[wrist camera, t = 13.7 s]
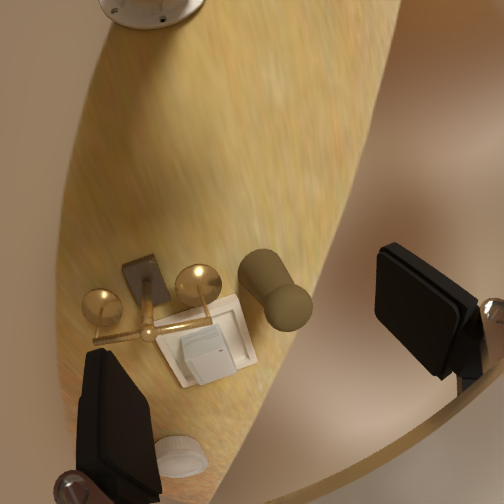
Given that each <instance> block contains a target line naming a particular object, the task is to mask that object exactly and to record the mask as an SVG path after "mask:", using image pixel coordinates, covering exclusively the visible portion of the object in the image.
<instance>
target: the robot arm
mask: <svg viewBox="0 0 504 504" xmlns="http://www.w3.org/2000/svg"><path fill="white" fill-rule="evenodd" d="M98 1H99V4H100V6H101V8H102V10H103V12H104V13H105V14H106V15H107V17H109V18H110V19H111V20H112V21H114V22H115V23H117V24H120V25H122V26H124V27H128V28H132V29H141V30H149V29H159V28H163V27H168V26H170V25H173V24H176V23H178V22H180V21H182V20H184V19H186V18H188V17H189V16H190V15H192V14H193V13H194V12H196V10H197V9H198V8H199V7H200V6H201V5H202V4H203V2H204V1H205V0H98ZM115 12H117V14H114V15H113V13H115ZM161 20H165V22H160V21H161ZM477 303H478V299H476V298H475V297H474V296H472V295H471V294H470V293H468V292H467V291H466V290H464V289H463V288H461V287H460V286H459V285H458V284H456V283H455V282H453V281H452V280H450V279H449V278H448V277H446V276H445V275H444V274H442V273H441V272H439V271H438V270H437V269H435V268H434V267H432V266H431V265H429V264H428V263H426V262H425V261H423V260H422V259H420V258H419V257H417V256H416V255H414V254H413V253H412V252H410V251H408V250H407V249H405V248H404V247H402V246H401V245H399V244H398V243H396V242H394V243H391V244H389V245H386V246H384V247H382V248H381V249H380V251H379V253H378V255H377V270H376V295H375V315H376V317H377V318H378V320H379V321H380V322H381V323H382V324H383V325H384V326H385V327H386V328H387V329H388V330H389V331H390V332H391V333H392V334H393V335H394V336H395V337H396V338H397V339H398V340H399V341H400V342H401V343H402V344H403V345H404V346H405V347H406V348H407V349H408V350H409V352H411V354H412V355H413V356H414V357H415V358H416V359H417V360H418V361H419V362H420V363H421V364H422V365H423V366H424V367H425V368H426V369H427V370H428V371H429V372H430V373H431V374H432V375H433V376H437V377H438V378H439V379H440V380H441V381H442V380H443V379H444V378H446V377H447V376H448V375H450V374H451V373H452V371H453V372H454V373H455V374H456V377H457V397H456V398H455V399H454V400H453V401H451V402H450V403H449V404H447V405H446V406H445V407H444V408H442V409H441V410H440V411H438V412H437V413H436V414H434V415H433V416H432V417H430V418H429V419H427V420H426V421H424V422H423V423H422V424H420V425H419V426H417V427H416V428H414V429H413V430H411V431H410V432H408V433H407V434H405V435H404V436H402V437H401V438H399V439H397V440H396V441H394V442H393V443H391V444H389V445H388V446H386V447H384V448H383V449H381V450H379V451H378V452H376V453H374V454H372V455H371V456H369V457H367V458H365V459H363V460H362V461H360V462H358V463H356V464H354V465H352V466H350V467H349V468H346V469H344V470H342V471H341V472H338V473H336V474H334V475H332V476H330V477H328V478H325V479H323V480H321V481H319V482H317V483H314V484H312V485H310V486H307V487H305V488H303V489H300V490H297V491H295V492H292V493H290V494H287V495H285V496H282V497H279V498H276V499H274V500H271V501H268V502H265V503H262V504H504V300H502V299H500V298H489V299H486V300H485V301H484V302H483V303H482V304H481V306H480V307H479V306H478V305H477ZM159 494H162V485H161V480H160V475H159V469H158V464H157V458H156V452H155V445H154V439H153V432H152V424H151V417H150V408H149V404H148V402H147V400H146V398H145V397H144V395H143V394H142V393H141V391H140V390H139V389H138V388H137V386H136V385H135V384H134V382H133V381H132V380H131V378H130V377H129V375H128V374H127V373H126V371H125V370H124V369H123V367H122V366H121V364H120V363H119V361H118V360H117V359H116V357H115V356H114V354H113V353H112V352H111V351H106V350H105V349H104V348H100V349H96V350H93V351H89V352H87V354H86V359H85V367H84V376H83V385H82V395H81V397H80V398H79V404H78V418H77V438H76V470H69V471H66V472H64V473H63V474H61V475H60V476H59V477H58V479H57V480H56V482H55V485H54V490H53V495H54V500H55V502H56V504H150V503H156V502H160V499H159Z"/></svg>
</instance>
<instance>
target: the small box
mask: <svg viewBox="0 0 504 504" xmlns="http://www.w3.org/2000/svg"><path fill="white" fill-rule="evenodd" d="M180 339H181V344H182V350H183V355H184V361H185V363H186V365H187V366H188V368H189V370H190V371H191V373H192V375H193V376H194V378H195V379H196V381H197V383H198V384H199V386H201V385H204V384H207V383H210V382H213V381H216V380H218V379H221V378H224V377H227V376H230V375H232V374H235V373H237V369H236V366H235V363H234V360H233V358H232V355H231V352H230V350H229V347H228V344H227V342H226V340H225V338H224V335H223V333H222V331H221V329H220V327H219V325H218V324H215V325H212V326H210V327H207V328H204V329H201V330H199V331H196V332H193V333H190V334H187V335H185V336H182V337H181V338H180Z"/></svg>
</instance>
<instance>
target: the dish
mask: <svg viewBox="0 0 504 504" xmlns="http://www.w3.org/2000/svg"><path fill="white" fill-rule="evenodd" d="M207 308H208V310H209V313H210V316H211V318H212V321H213V325H215V324H218V325H219V327H220V329H221V331H222V333H223V335H224V338H225V340H226V342H227V344H228V347H229V350H230V352H231V355H232V358H233V360H234V363H235V366H236V369H237V370H238V369H241V368H244V367H246V366H249V365H252V364H254V363H257V362H258V360H257V357H256V354H255V351H254V348H253V345H252V341H251V338H250V335H249V332H248V328H247V325H246V322H245V319H244V315H243V312H242V309H241V305H240V302H239V299H238V297H237V296H236V294H235V293H234V294H232V295H229V296H226V297H223V298H220V299H218V300H215V301H213V302H212V303H210V304H208V305H207ZM203 317H206V315H205V312H204V309H203V307H195V308H192V309H189V310H186V311H183V312H180V313H177V314H174V315H171V316H168V317H165V318H163V319H160V320H157V321H154V326H155V327H159V326H164V325H169V324H174V323H179V322H184V321H189V320H194V319H198V318H203ZM210 326H212V325H209V326H204V327H199V328H194V329H189V330H184V331H179V332H174V333H168V334H163V335H158V336H157V338H156V339H155V340H156V342H157V343H158V345H159V347H160V349H161V351H162V353H163V354H164V356H165V358H166V360H167V361H168V363H169V365H170V367H171V368H172V370H173V372H174V373H175V375H176V377H177V378H178V380H179V382H180V383H181V385H182V387H183V388H185V387H188V386H191V385H194V384H198V383H197V381H196V379H195V378H194V376H193V375H192V373H191V371H190V370H189V368H188V366H187V365H186V363H185V361H184V355H183V350H182V344H181V339H180V338H181V337H182V336H185V335H187V334H190V333H193V332H196V331H199V330H201V329H204V328H207V327H210Z"/></svg>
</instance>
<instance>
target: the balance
mask: <svg viewBox="0 0 504 504" xmlns="http://www.w3.org/2000/svg"><path fill="white" fill-rule="evenodd" d="M122 270H123V273H124V275H125V277H126V279H127V281H128V283H129V286H130V288H131V290H132V292H133V294H134V296H135V298H136V300H137V302H138V304H139V306H140V308H141V310H142V326H141V327H140V329H139V330H138V331H132V332H126V333H121V334H115V335H109V336H103V337H99V333H100V326H111V325H113V324H115V323H116V322H118V321H119V319H120V318H121V316H122V309H123V308H122V303H121V301H120V299H119V298H118V296H117V295H116V294H114V293H113V292H111V291H109V290H106V289H94V290H91V291H89V292H88V293H87V294H86V295H85V296H84V298H83V301H82V311H83V314H84V315H85V317H86V318H87V319H88V320H89V321H90V322H91V323H93V324H95V325H97V328H96V334H95V338H93V344H94V345H95V346H98V345H104V344H111V343H117V342H123V341H129V340H135V339H142V340H143V341H145V342H153V341H154V340H155V339H156V338H157V336H158V335H163V334H168V333H174V332H179V331H184V330H189V329H194V328H199V327H204V326H209V325H213V321H212V318H211V316H210V313H209V310H208V308H207V305H208V304H210V303H212V302H213V301H214V300H215V299H216V298H217V297H218V296H219V294H220V292H221V288H222V281H221V278H220V276H219V274H218V272H217V271H216V270H215V269H214V268H212V267H210V266H208V265H204V264H195V265H191V266H189V267H187V268H185V269H184V270H182V271H181V272H180V274H179V275H178V277H177V279H176V282H175V291H176V295H177V297H178V298H179V300H180V301H181V302H183V303H184V304H186V305H188V306H191V307H203V309H204V312H205V315H206V317H203V318H198V319H194V320H189V321H184V322H179V323H174V324H169V325H164V326H159V327H155V326H154V318H153V306H154V305H157V304H160V303H163V302H166V301H169V300H171V298H170V294H169V291H168V289H167V286H166V284H165V282H164V279H163V277H162V274H161V272H160V269H159V267H158V264H157V262H156V259H155V257H154V254H151V255H148V256H145V257H142V258H140V259H137V260H134V261H131V262H128V263H126V264H123V265H122Z"/></svg>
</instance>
